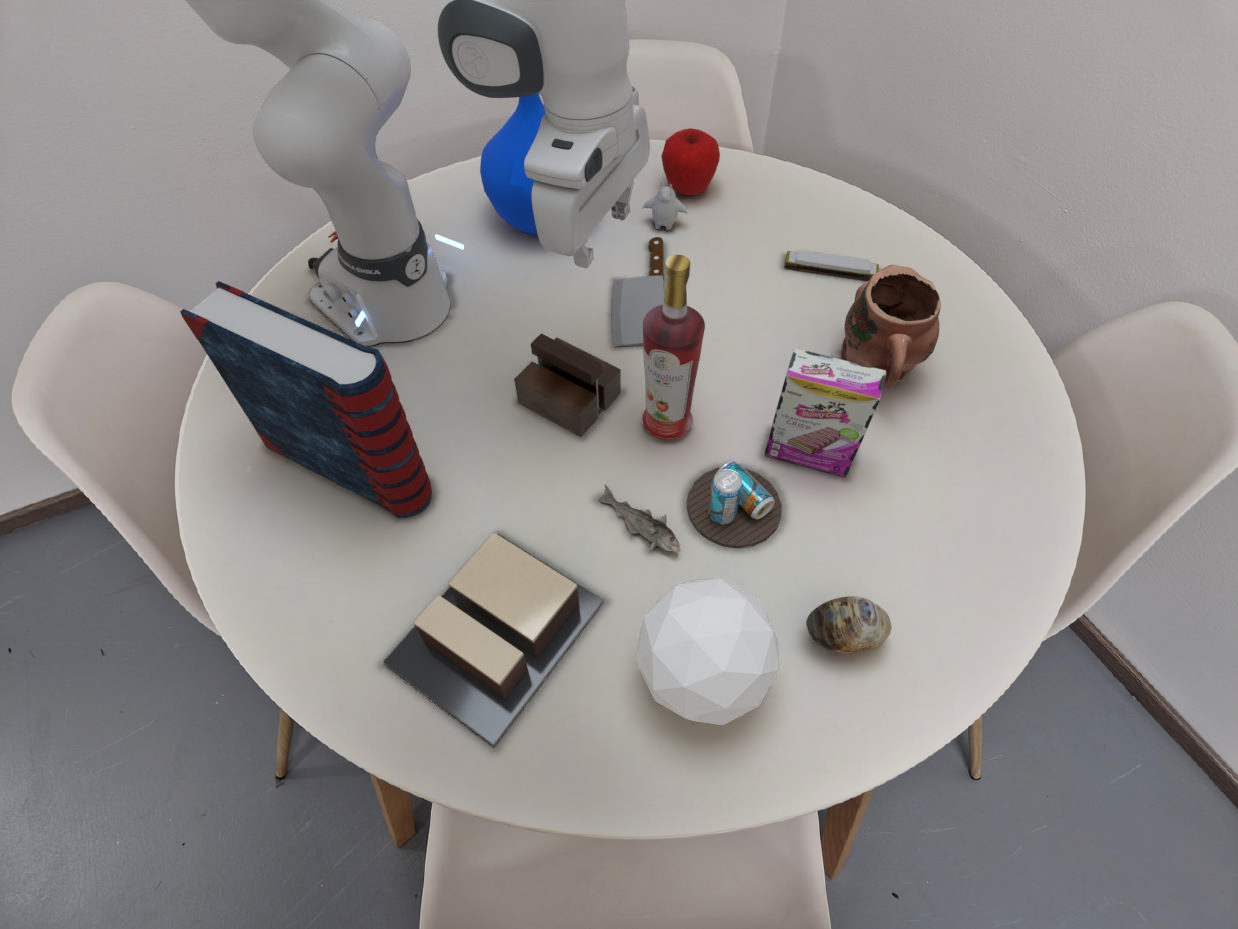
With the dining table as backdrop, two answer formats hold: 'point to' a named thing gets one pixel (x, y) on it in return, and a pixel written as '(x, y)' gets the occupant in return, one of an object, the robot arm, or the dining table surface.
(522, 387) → the slicer stand
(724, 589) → the geometric shape
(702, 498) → the drink cans on coaster
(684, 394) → the liquor
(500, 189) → the vase
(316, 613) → the dining table surface
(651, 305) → the kitchen cleaver
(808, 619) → the seashell
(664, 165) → the apple
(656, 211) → the figurine
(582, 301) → the dining table surface
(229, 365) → the book
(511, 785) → the dining table surface
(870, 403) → the candy bar box
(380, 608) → the dining table surface
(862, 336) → the decorative planter
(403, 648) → the cake
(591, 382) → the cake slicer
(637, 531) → the fish
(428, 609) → the cake slice
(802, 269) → the harmonica
